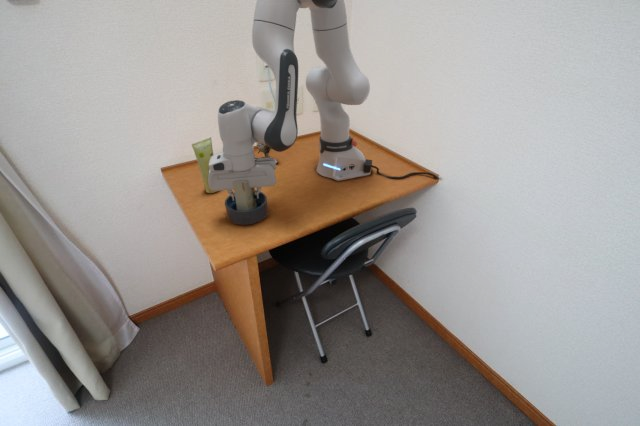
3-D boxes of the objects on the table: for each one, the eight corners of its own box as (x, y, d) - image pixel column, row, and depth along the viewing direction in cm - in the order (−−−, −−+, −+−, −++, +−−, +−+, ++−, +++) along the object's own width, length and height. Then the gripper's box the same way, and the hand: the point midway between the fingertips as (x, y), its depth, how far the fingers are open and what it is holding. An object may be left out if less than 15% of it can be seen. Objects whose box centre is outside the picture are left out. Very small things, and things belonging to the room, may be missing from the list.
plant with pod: (270, 155, 142) (266, 110, 131) (280, 164, 134) (276, 118, 123) (253, 158, 139) (247, 113, 128) (262, 168, 131) (257, 121, 119)
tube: (217, 194, 114) (207, 143, 103) (203, 194, 114) (191, 143, 103) (220, 186, 119) (211, 137, 107) (207, 186, 118) (196, 137, 107)
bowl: (267, 201, 110) (265, 188, 107) (269, 223, 100) (267, 209, 97) (228, 205, 108) (225, 191, 105) (226, 228, 98) (223, 213, 94)
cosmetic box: (250, 217, 100) (245, 183, 93) (237, 215, 101) (231, 182, 94) (257, 206, 105) (253, 173, 98) (245, 204, 106) (240, 172, 99)
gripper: (274, 152, 97) (277, 190, 105) (205, 157, 93) (214, 196, 101) (276, 161, 92) (279, 200, 100) (203, 166, 88) (212, 207, 96)
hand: (245, 198), depth 100 cm, fingers closed on cosmetic box, 5 cm apart
